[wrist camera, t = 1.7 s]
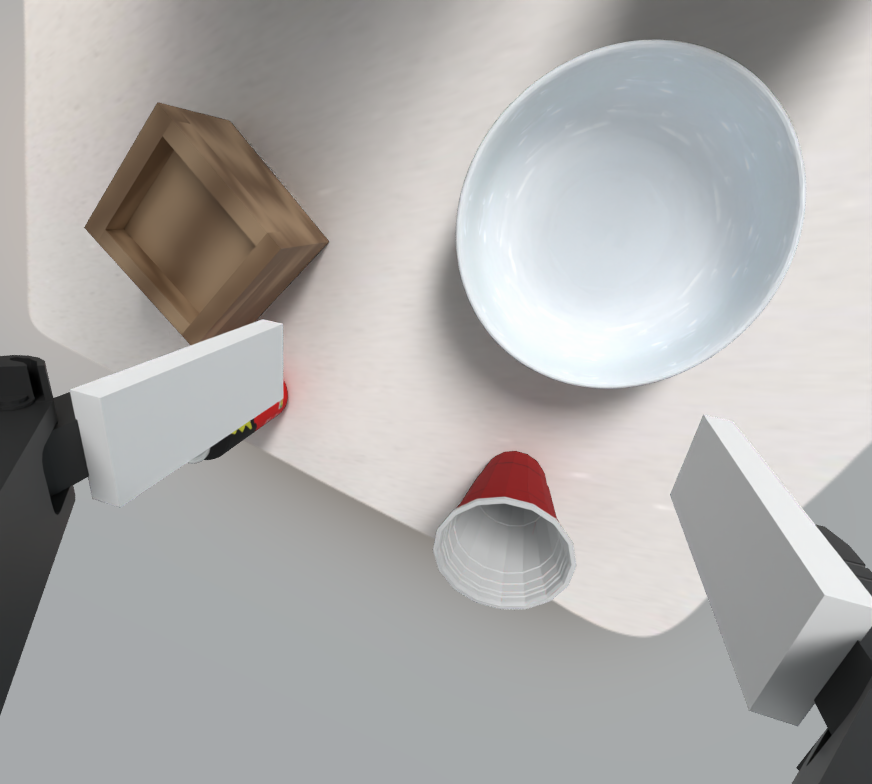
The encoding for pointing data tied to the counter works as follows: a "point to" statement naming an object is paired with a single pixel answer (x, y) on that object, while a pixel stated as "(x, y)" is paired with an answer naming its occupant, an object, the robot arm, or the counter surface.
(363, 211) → the counter surface
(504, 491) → the plastic cup
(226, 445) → the beverage can
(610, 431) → the counter surface
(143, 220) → the brown open box
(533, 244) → the serving bowl
